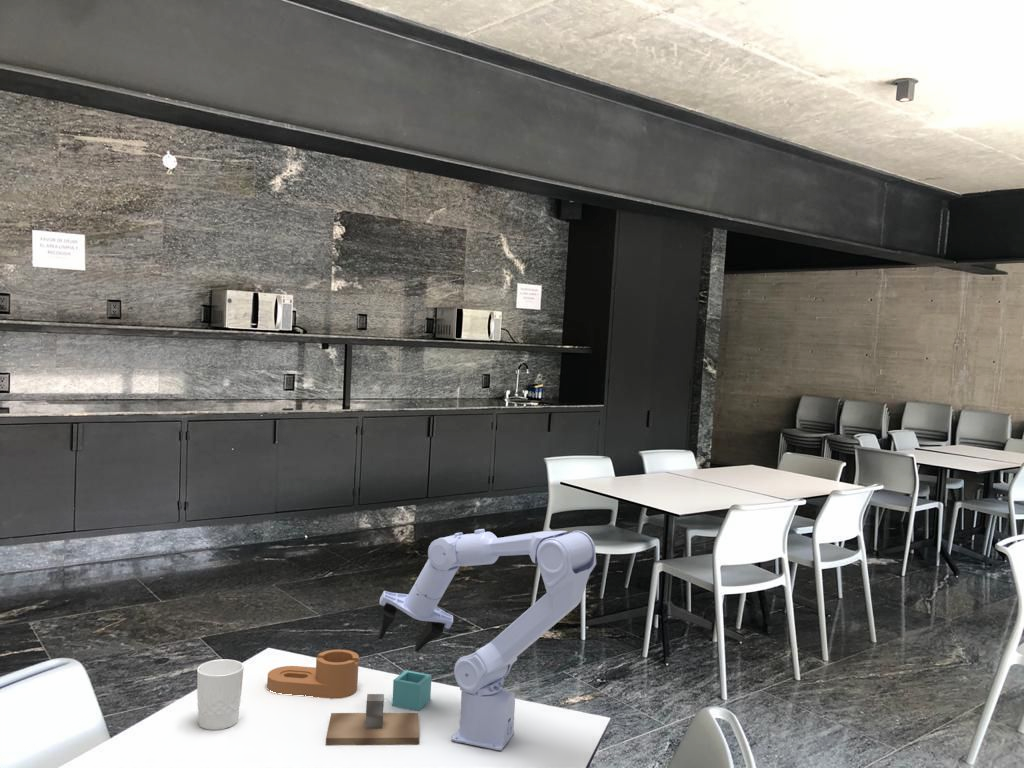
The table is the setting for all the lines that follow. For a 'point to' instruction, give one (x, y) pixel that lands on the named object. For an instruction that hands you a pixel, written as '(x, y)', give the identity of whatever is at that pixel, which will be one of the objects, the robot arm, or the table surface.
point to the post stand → (373, 726)
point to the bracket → (319, 676)
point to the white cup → (219, 693)
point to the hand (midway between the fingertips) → (398, 641)
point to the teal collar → (411, 690)
